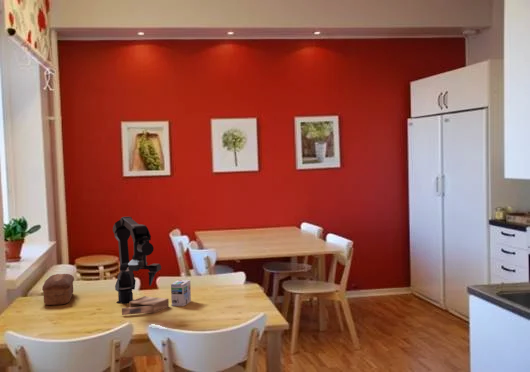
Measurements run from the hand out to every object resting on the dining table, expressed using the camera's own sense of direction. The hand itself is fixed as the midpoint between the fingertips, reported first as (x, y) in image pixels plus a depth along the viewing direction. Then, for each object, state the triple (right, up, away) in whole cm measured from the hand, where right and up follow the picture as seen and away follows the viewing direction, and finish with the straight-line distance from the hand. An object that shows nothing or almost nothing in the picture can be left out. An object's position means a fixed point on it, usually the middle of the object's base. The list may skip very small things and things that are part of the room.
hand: (140, 285), depth 282 cm
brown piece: (+3, -12, +7) cm, 14 cm away
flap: (-1, -12, -4) cm, 13 cm away
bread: (-48, -12, +29) cm, 57 cm away
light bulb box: (+17, -12, +16) cm, 26 cm away
